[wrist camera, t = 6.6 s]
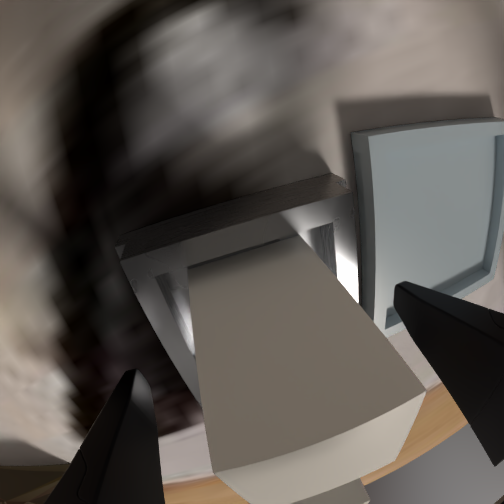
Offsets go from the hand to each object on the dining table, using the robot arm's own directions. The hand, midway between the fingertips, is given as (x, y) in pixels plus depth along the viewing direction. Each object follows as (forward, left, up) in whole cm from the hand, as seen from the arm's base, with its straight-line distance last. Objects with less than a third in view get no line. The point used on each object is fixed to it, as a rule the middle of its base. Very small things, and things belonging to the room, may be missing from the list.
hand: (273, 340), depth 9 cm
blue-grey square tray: (-10, 0, -3) cm, 11 cm away
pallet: (0, +5, -3) cm, 6 cm away
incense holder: (+33, +15, -4) cm, 36 cm away
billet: (0, 0, -2) cm, 2 cm away
